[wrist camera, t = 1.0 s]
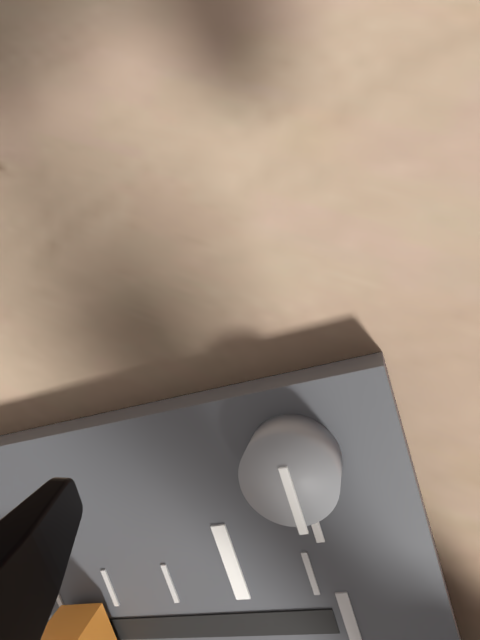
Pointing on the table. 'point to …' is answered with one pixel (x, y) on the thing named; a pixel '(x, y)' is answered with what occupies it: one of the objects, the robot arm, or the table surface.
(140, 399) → the table surface
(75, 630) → the fader
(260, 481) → the console
